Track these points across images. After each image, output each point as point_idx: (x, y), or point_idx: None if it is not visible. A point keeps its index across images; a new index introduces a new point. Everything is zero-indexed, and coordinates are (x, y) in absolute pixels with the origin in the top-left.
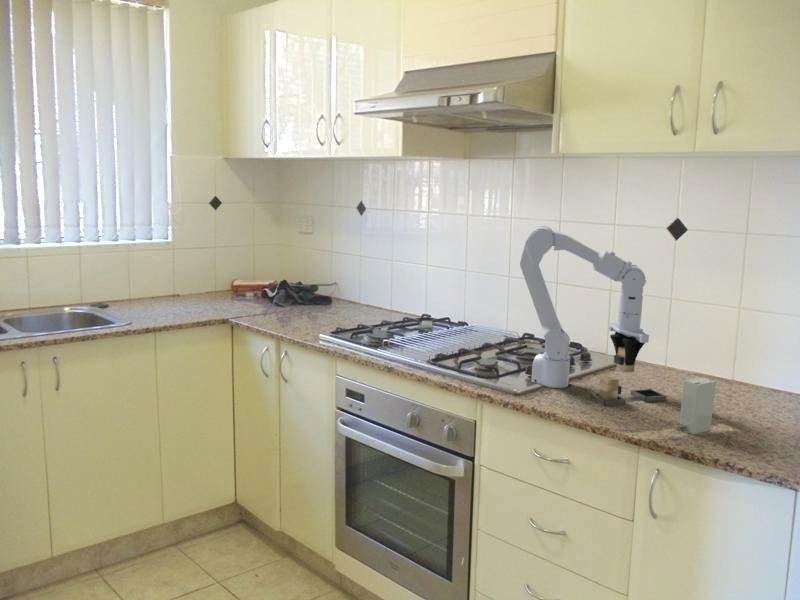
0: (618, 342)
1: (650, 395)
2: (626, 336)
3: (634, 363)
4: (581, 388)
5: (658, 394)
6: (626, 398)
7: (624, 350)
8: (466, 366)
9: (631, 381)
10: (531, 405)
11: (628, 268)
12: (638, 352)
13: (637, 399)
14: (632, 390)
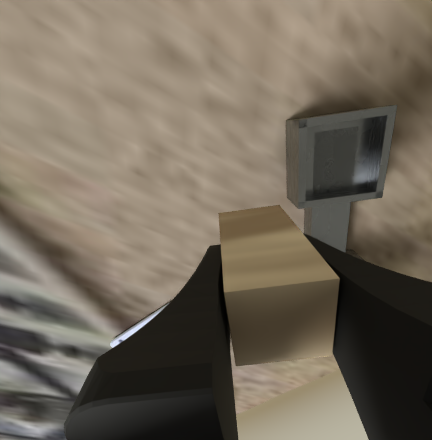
0: (233, 406)
1: (314, 135)
2: (227, 431)
3: (294, 224)
4: (163, 281)
5: (355, 119)
6: (319, 232)
7: (317, 352)
8: (15, 428)
9: (64, 75)
10: (271, 394)
11: None
12: (378, 268)
13: (338, 204)
14: (298, 205)
